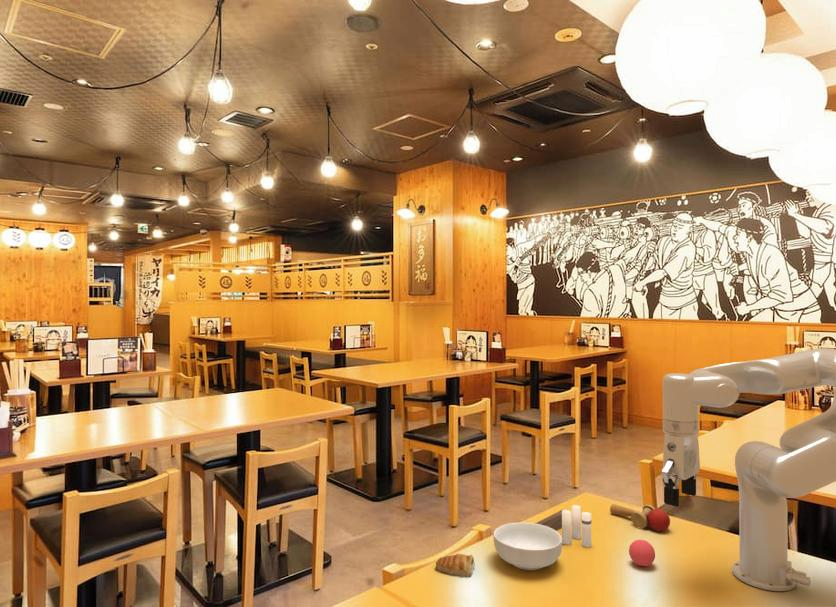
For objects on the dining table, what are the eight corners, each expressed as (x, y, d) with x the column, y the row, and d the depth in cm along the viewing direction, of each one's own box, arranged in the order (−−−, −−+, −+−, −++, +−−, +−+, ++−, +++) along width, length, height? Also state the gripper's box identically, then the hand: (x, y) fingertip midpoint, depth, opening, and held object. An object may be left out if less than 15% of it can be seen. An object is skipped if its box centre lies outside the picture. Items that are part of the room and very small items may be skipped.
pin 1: (573, 542, 146) (572, 511, 146) (568, 545, 145) (568, 514, 145) (565, 540, 148) (564, 509, 148) (560, 542, 147) (560, 511, 147)
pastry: (433, 575, 131) (433, 559, 131) (438, 562, 137) (438, 547, 137) (472, 579, 129) (472, 562, 129) (475, 565, 135) (475, 550, 135)
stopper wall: (567, 524, 158) (567, 511, 158) (535, 541, 147) (535, 527, 147) (562, 523, 159) (562, 509, 159) (530, 540, 148) (530, 525, 148)
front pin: (593, 545, 145) (593, 513, 145) (588, 548, 143) (588, 516, 143) (584, 542, 147) (584, 511, 147) (580, 545, 145) (579, 513, 145)
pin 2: (582, 537, 150) (582, 506, 150) (578, 539, 148) (577, 508, 148) (574, 534, 152) (574, 504, 152) (570, 537, 150) (570, 506, 150)
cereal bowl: (574, 561, 136) (574, 533, 136) (540, 587, 124) (540, 557, 124) (516, 541, 148) (516, 515, 148) (480, 563, 136) (480, 535, 136)
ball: (659, 565, 134) (659, 540, 134) (648, 573, 130) (648, 548, 130) (635, 556, 138) (635, 533, 138) (624, 564, 134) (624, 540, 134)
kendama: (604, 522, 163) (660, 534, 149) (604, 500, 165) (660, 509, 150) (620, 520, 168) (676, 532, 153) (619, 499, 169) (675, 508, 155)
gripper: (681, 435, 119) (681, 514, 119) (711, 423, 130) (711, 494, 130) (647, 430, 124) (647, 504, 124) (679, 418, 136) (679, 486, 136)
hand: (680, 499), depth 127 cm, fingers open, 9 cm apart
